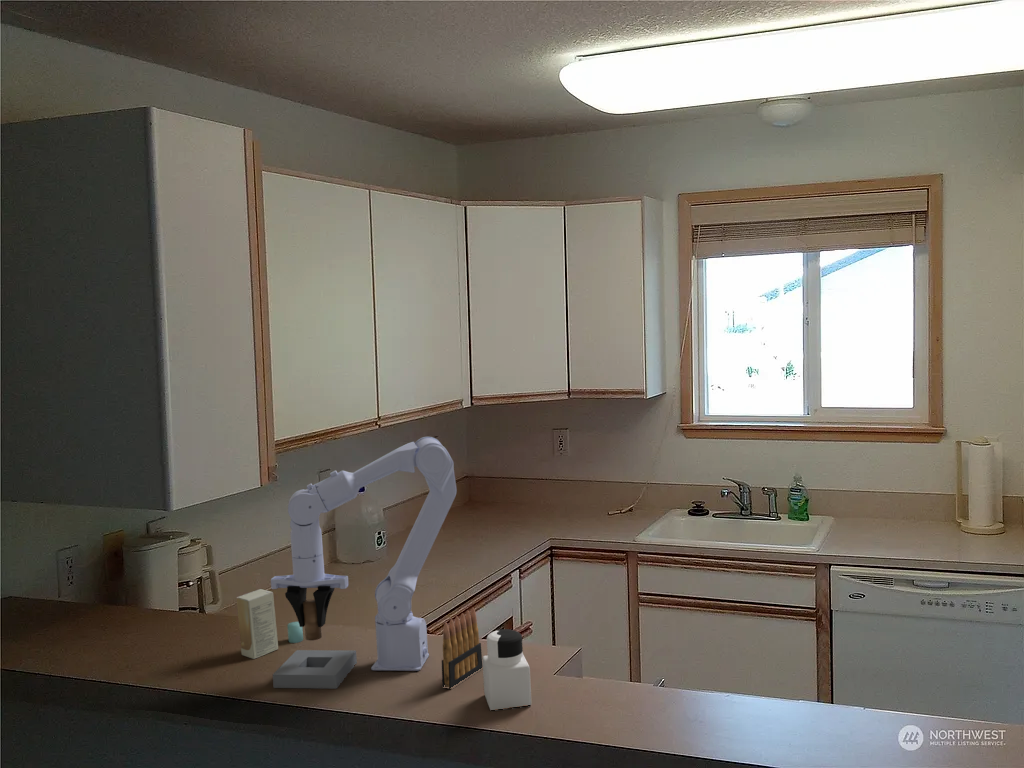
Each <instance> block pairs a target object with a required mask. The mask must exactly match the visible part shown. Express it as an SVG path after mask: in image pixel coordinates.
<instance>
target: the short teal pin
mask: <svg viewBox="0 0 1024 768" xmlns="http://www.w3.org/2000/svg"><path fill="white" fill-rule="evenodd" d="M286 626H287V639H288V640H287V641H288V643H290V644H296V643H297V644H298V643H301V642H303V641H304V633H303V630H304V629H303V628H304V627H300V625H299V622H298V621H292V622H289V623H287V625H286Z"/></svg>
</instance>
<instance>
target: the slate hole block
mask: <svg viewBox="0 0 1024 768" xmlns="http://www.w3.org/2000/svg"><path fill="white" fill-rule="evenodd" d="M357 659H358V658H357V650H356V649H355V650H343V649H342V650H339V649H337V650H335V649H334V650H333V649H331V650H329V649H328V650H325V649H324V650H323V649H322V650H321V649H314V650H313V649H308V650H307V649H296V650H295V651H294V652H293V654H291V655H290V656H289V657H288V659H286V661H284V662H283V663H282V665H281V666H279V667H278V668H277V670H276V671H274V672H273V674H272V684H273V687H272V688H273V689H330V690H331V689H333V690H334V689H338V687H339V686H340V685H341V684H342V683H343V681H344V680H345V679H346V677H347V676H348V675H349V674H348V673H351V671H352V670H353V668H354V667H355V666H356V665H357V663H358V662H357V661H358V660H357ZM355 664H356V665H355ZM354 665H355V666H354ZM351 669H352V670H351ZM347 674H348V675H347ZM344 678H345V679H344ZM340 683H341V684H340Z"/></svg>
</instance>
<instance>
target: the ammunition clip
mask: <svg viewBox="0 0 1024 768" xmlns="http://www.w3.org/2000/svg"><path fill="white" fill-rule="evenodd" d="M477 619H478V618H477V614H476V610H475V608H474V607H473V606H472V607H471V610H470V611H469V610H468V609H467V610H466V612H465V614H464V612H462V613H461V615H460V618H459V617H458V615H456V617H455V619H454V621H453V619H452V618H451V619H450V621H449V623H447V622H444V625H443V629H442V630H443V631H442V636H443V637H442V659H441V679H442V680H441V684H442V686H443V687H444V685H445V687H449V688H451V687H453V686H454V685H456V684H458V683H459V682H460V681H462V680H464V679H465V678H467V677H468V676H470V675H471V674H473V673H474V672H476V671H478V670H479V669H481V668H482V667H483V660H482V658H483V654H482V653H483V651H482V642H480V635H479V634H480V632H479V626H478V620H477Z"/></svg>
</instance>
